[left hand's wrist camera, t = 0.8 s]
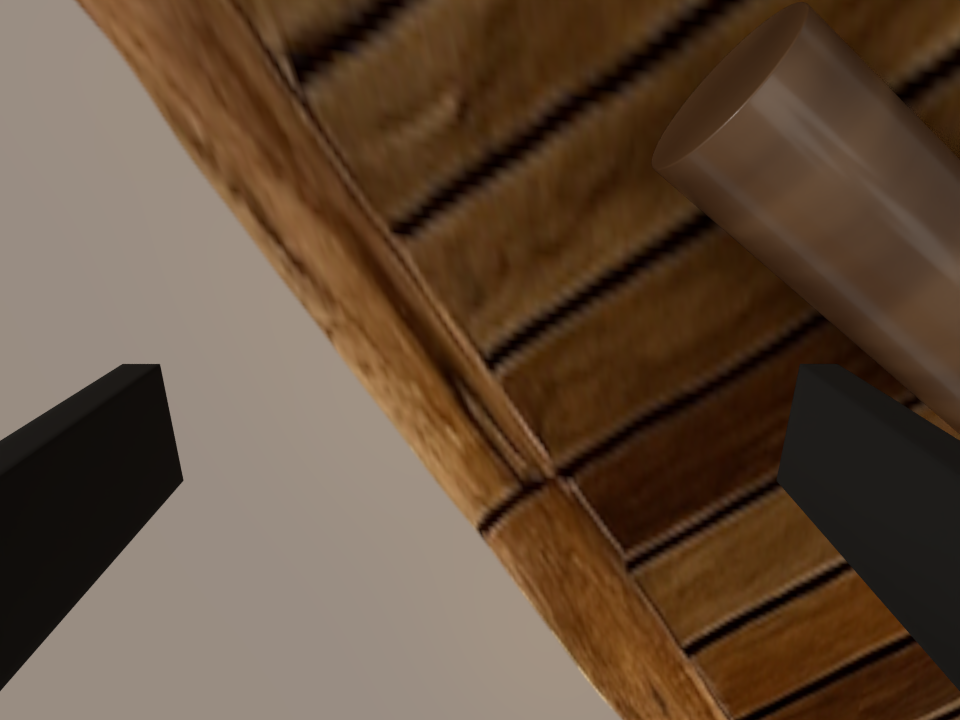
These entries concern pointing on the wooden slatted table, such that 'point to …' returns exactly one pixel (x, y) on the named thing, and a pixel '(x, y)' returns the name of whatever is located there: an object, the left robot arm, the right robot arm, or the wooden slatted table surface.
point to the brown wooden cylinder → (832, 194)
